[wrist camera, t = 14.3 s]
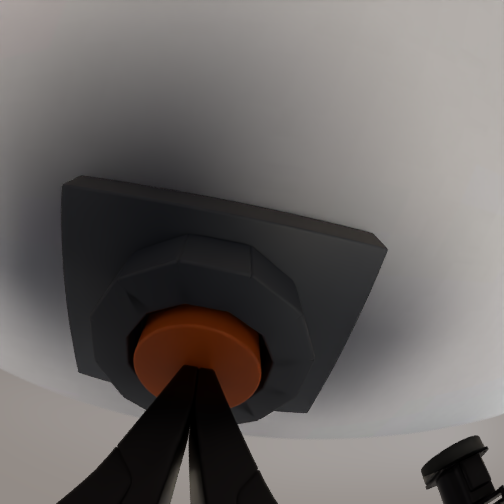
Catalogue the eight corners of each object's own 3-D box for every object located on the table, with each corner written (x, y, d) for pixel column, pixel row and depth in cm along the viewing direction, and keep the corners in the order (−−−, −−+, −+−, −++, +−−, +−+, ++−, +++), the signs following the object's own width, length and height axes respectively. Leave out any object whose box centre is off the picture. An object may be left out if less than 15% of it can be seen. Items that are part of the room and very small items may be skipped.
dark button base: (373, 233, 10) (414, 275, 7) (303, 392, 13) (313, 445, 11) (80, 174, 9) (28, 200, 6) (88, 353, 12) (64, 401, 9)
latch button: (271, 300, 9) (276, 339, 8) (245, 380, 11) (246, 419, 9) (149, 277, 9) (131, 312, 7) (146, 362, 10) (134, 399, 9)
